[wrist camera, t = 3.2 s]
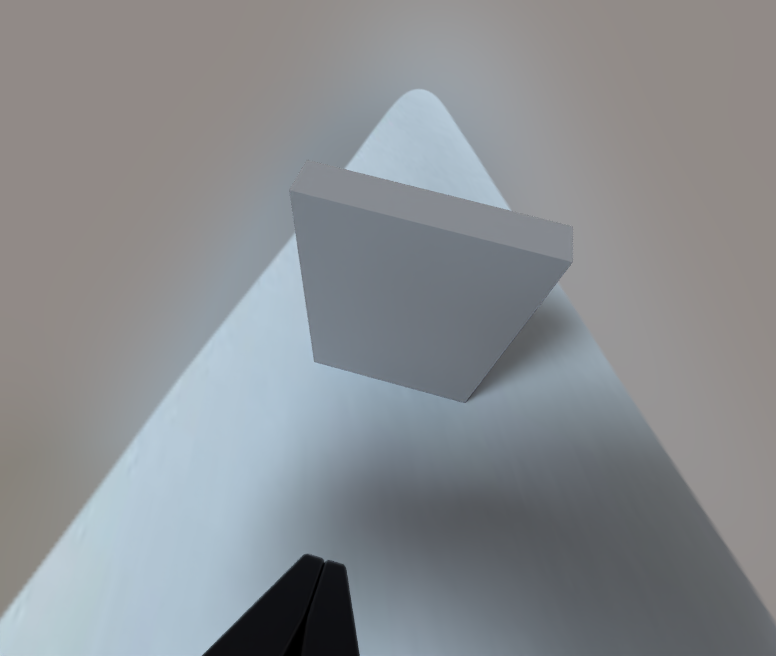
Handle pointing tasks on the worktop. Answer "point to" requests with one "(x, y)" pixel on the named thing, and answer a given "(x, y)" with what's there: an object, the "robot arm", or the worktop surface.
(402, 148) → the worktop surface
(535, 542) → the worktop surface
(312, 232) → the tile
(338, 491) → the worktop surface
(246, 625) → the robot arm
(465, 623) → the worktop surface
